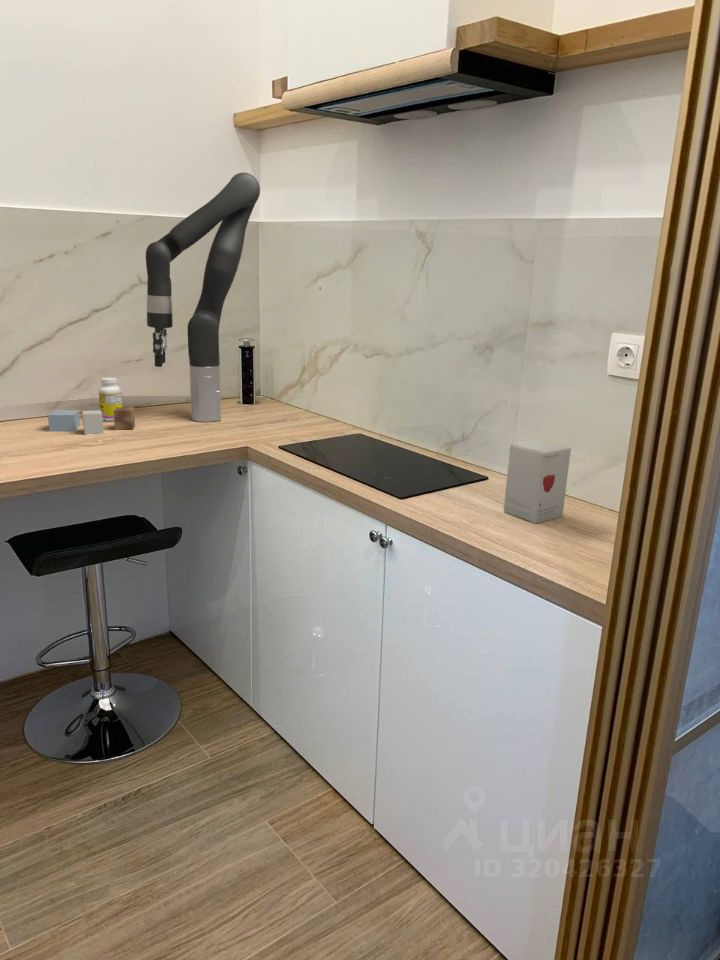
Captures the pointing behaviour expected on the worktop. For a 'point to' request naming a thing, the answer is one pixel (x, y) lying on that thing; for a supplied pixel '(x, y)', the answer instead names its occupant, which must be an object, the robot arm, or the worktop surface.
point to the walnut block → (124, 418)
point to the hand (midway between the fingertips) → (160, 364)
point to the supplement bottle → (109, 398)
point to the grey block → (92, 422)
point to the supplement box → (536, 480)
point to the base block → (63, 420)
